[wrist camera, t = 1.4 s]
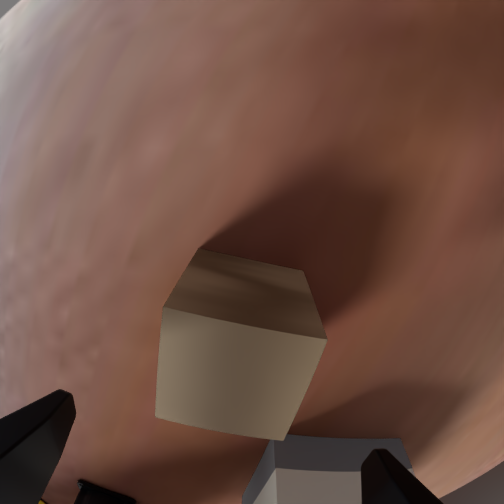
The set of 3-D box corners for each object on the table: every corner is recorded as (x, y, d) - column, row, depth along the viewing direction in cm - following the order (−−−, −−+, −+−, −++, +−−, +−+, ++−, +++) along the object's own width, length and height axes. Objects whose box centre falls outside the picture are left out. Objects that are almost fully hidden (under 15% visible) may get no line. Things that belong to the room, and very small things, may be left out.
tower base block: (242, 492, 22) (240, 524, 18) (273, 428, 19) (274, 468, 15) (346, 496, 22) (351, 525, 19) (398, 434, 19) (412, 467, 16)
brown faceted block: (184, 336, 16) (155, 417, 10) (198, 247, 15) (162, 306, 9) (277, 355, 16) (283, 440, 11) (303, 270, 15) (327, 339, 9)
